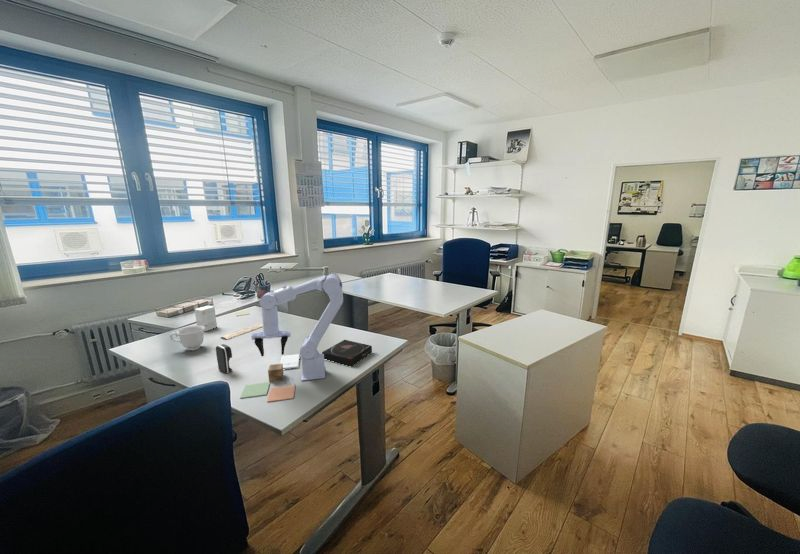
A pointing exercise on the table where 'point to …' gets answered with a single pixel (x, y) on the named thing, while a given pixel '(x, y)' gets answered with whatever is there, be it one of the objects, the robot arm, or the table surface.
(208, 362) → the table surface
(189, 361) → the table surface
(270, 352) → the table surface
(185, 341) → the teacup
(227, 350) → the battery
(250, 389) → the mat
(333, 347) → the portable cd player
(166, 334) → the table surface
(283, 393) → the mat
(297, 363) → the external hard drive
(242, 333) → the wooden plank
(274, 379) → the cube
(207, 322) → the small box
